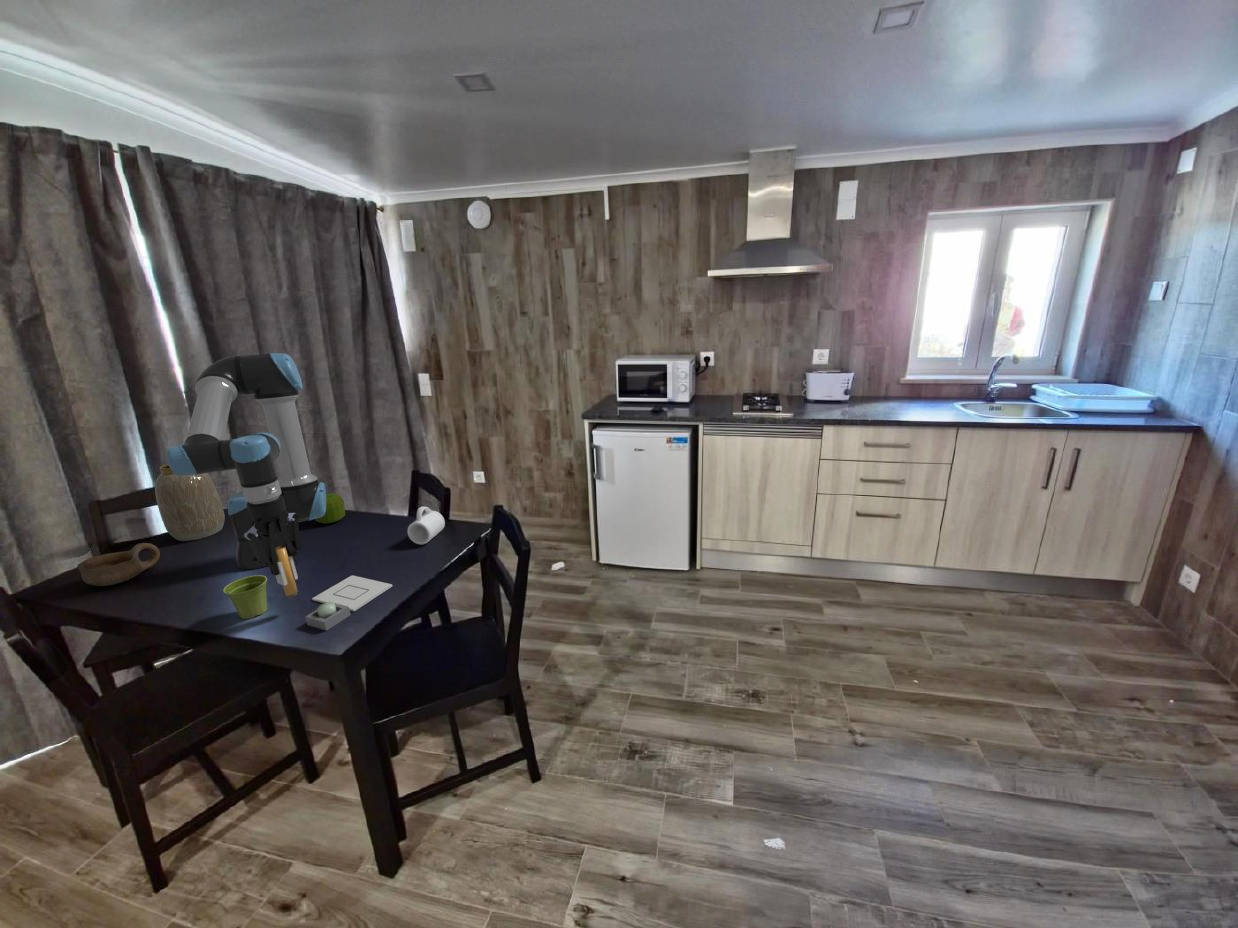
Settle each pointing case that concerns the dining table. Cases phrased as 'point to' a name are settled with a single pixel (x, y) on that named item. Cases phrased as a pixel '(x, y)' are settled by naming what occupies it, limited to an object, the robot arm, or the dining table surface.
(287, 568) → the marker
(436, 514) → the mug
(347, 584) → the sheet
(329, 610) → the button
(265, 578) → the plant pot
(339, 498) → the apple
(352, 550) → the dining table surface
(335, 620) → the button housing
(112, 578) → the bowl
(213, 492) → the vase
